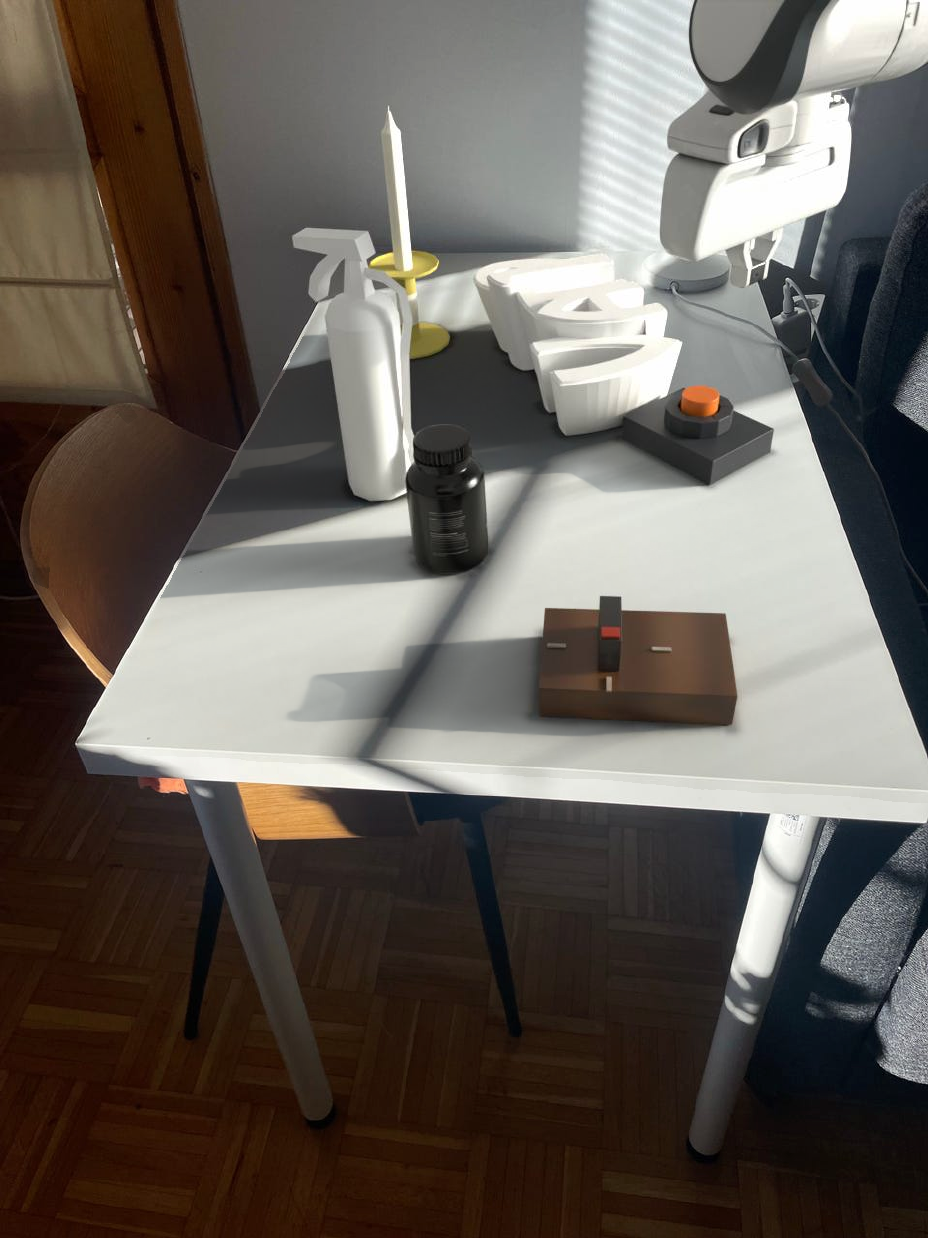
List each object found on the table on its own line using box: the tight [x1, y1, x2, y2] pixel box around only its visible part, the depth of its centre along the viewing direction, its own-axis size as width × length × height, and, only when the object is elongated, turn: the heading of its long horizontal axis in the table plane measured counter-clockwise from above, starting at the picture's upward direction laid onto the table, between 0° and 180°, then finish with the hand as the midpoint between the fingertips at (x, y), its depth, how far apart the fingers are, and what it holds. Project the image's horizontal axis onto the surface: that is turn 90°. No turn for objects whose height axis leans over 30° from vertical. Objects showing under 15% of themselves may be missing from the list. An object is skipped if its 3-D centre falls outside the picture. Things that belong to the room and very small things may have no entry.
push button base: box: [621, 387, 775, 486], centre depth 97 cm, size 12×9×4 cm
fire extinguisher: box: [291, 227, 415, 502], centre depth 88 cm, size 7×12×25 cm, turn 58°
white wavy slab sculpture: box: [472, 252, 683, 437], centre depth 108 cm, size 35×16×11 cm, turn 12°
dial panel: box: [538, 607, 738, 726], centre depth 73 cm, size 14×9×3 cm, turn 84°
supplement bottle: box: [405, 423, 489, 575], centre depth 83 cm, size 7×7×12 cm
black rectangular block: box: [598, 595, 623, 671], centre depth 71 cm, size 5×2×3 cm, turn 173°
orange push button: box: [681, 385, 720, 417], centre depth 95 cm, size 4×4×2 cm
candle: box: [368, 105, 451, 360], centre depth 112 cm, size 10×10×27 cm
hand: (747, 282), depth 85 cm, fingers closed
